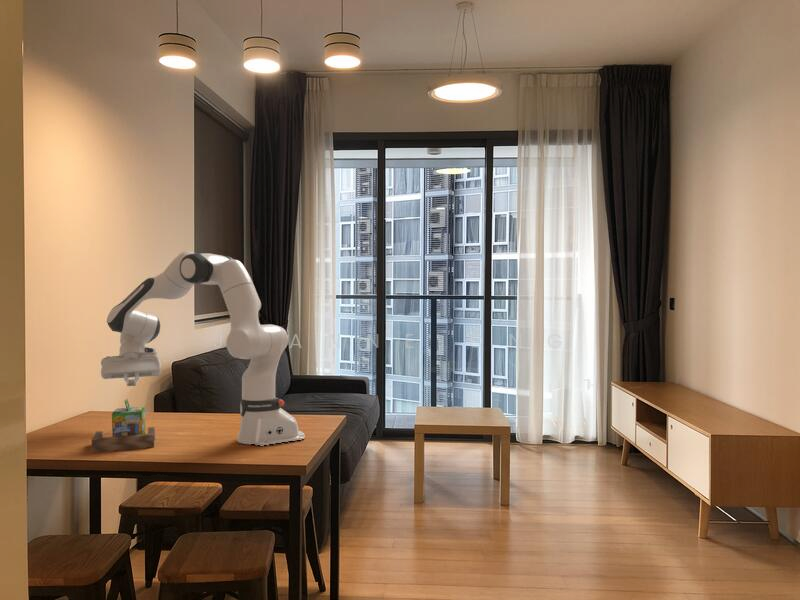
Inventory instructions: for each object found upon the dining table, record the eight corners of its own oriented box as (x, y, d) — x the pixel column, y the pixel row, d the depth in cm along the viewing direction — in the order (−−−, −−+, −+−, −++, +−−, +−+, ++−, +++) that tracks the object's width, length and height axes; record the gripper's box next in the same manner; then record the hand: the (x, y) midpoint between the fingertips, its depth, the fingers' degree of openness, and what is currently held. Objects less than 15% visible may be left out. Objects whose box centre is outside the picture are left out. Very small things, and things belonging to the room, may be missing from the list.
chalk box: (142, 446, 193) (142, 401, 192) (111, 448, 190) (111, 402, 190) (146, 440, 201) (146, 396, 201) (117, 441, 199) (116, 397, 199)
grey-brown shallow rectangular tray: (154, 438, 203) (154, 427, 203) (154, 447, 192) (153, 434, 192) (96, 443, 197) (95, 431, 196) (91, 452, 185) (91, 439, 185)
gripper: (100, 351, 217) (98, 381, 208) (160, 348, 225) (161, 377, 216) (102, 362, 221) (99, 392, 212) (161, 359, 229) (161, 388, 220)
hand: (131, 385), depth 214 cm, fingers closed
